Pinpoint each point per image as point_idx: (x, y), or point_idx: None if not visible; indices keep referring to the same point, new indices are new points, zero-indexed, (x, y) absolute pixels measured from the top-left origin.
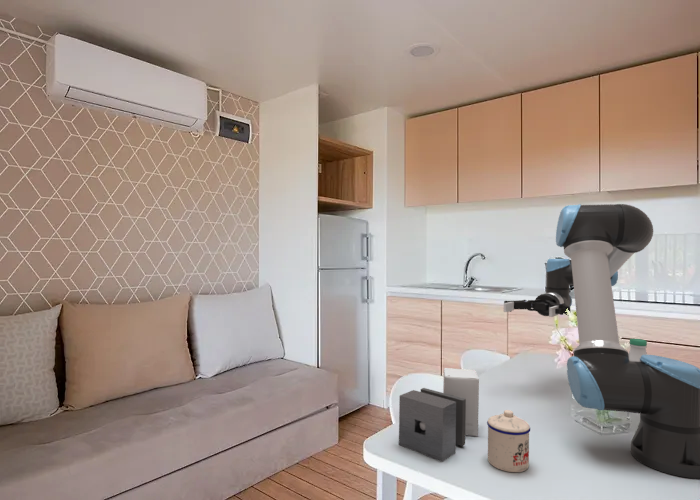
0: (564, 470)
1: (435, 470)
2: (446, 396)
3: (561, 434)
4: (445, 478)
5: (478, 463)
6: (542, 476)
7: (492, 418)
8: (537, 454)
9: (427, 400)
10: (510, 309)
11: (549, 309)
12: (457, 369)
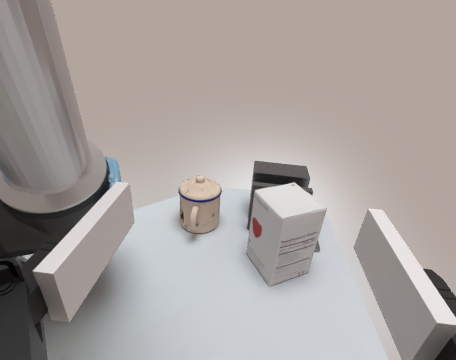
0: (147, 232)
1: (247, 194)
2: (274, 184)
3: (139, 320)
4: (235, 190)
5: (223, 212)
6: (167, 216)
7: (216, 184)
8: (174, 247)
9: (277, 166)
10: (380, 295)
11: (129, 192)
12: (305, 208)
